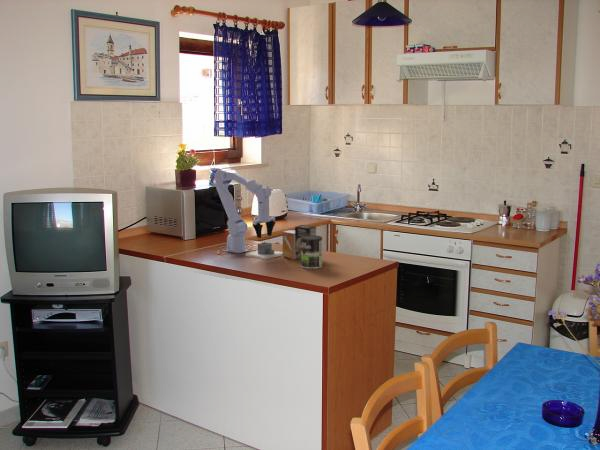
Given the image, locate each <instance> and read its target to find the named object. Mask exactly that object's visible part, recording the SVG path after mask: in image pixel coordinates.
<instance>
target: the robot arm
mask: <svg viewBox="0 0 600 450" xmlns="http://www.w3.org/2000/svg"><path fill="white" fill-rule="evenodd" d="M213 177H214V178H213V179H214V180H215V188H216V192H217V193H218V197H219V199H220V201H221V203H222V206H223V209H224V210H225V213H226V215H227V218H228V220H227V222H226V225H227V231H228V233H229V234H228V235H227V238H226V250H225V251H226V252H228V253H233V254H234V253H235V254H241V253H245V252H249V251H250V249H246V232H247V231H248V224H247V222H246V221H245V220H244V218H243V217H242V216H240V215H239V213H238V211H237V208H236V206H235V204H234V201H233V198H232V196H231V194H230V191H229V185H230V184H231V183H232V182H233V181H235V182H237V183H239V184H241V185H243V186H245V189H246V190H247V191H249V192H250V193H252V194H254V196H255V197H256V200H257V210H258V212H257V213H258V214H257V215H258V218H257V219H254V220H252V227H253V229H254V231H255V233H256V237H257V238H258V239H261V238H262V232H263V231H262V230H263V227H264V226H263V224H264V223H265V226H266V231H267V236H269V237H271V236H272V234H273V230H274V227H275V225H276V217H275V216H271V215H270V196H271V195H272V190H271V188H270V187H269V186H267V185H263V184H262V183H261V184H260V183H259V182H258V181H256V180H255V179H247V178H246V177H244V176H243V175H241V174H240V173H238V172H237V171H236V170H234V169H233V168H231V167H230V168H229V167H228V168H225V169H217V170H216V172H215V173H214V176H213ZM270 216H271V217H270Z"/></svg>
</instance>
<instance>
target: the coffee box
mask: <svg viewBox="0 0 600 450" xmlns="http://www.w3.org/2000/svg"><path fill="white" fill-rule="evenodd" d="M294 231H295V256H296V259H299V260H301V239H300V237H302V236H308V235H316V236H317V226H313V225H305V224H301V225H297V226H295V227H294Z"/></svg>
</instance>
